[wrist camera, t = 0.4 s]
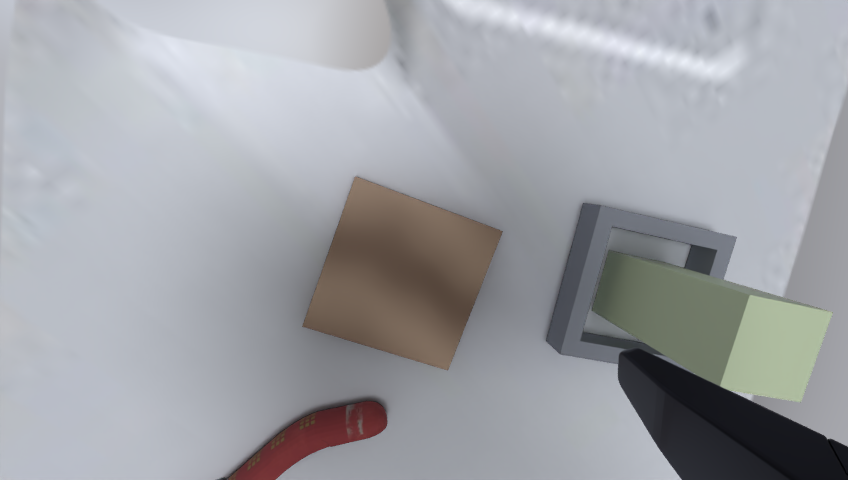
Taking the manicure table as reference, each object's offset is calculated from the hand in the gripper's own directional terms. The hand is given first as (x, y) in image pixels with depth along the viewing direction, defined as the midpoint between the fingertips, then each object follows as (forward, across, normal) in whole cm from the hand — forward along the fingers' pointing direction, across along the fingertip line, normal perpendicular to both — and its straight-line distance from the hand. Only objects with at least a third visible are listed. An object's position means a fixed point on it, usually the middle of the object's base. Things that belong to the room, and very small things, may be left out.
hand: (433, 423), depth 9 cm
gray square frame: (+13, -14, +10) cm, 22 cm away
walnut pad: (+15, 0, +5) cm, 16 cm away
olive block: (+13, -14, +10) cm, 22 cm away
